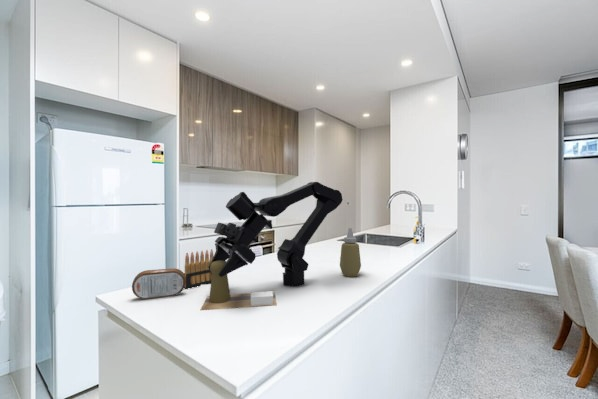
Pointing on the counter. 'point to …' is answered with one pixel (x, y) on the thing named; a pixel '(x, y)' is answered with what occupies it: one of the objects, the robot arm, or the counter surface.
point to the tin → (158, 283)
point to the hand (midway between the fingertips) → (214, 272)
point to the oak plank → (234, 302)
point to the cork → (219, 284)
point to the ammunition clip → (198, 270)
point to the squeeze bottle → (350, 256)
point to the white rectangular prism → (261, 298)
